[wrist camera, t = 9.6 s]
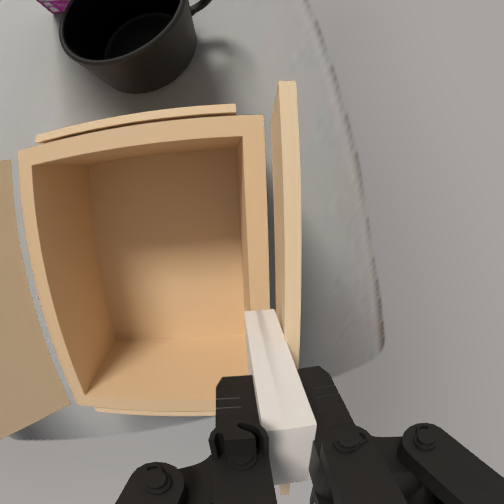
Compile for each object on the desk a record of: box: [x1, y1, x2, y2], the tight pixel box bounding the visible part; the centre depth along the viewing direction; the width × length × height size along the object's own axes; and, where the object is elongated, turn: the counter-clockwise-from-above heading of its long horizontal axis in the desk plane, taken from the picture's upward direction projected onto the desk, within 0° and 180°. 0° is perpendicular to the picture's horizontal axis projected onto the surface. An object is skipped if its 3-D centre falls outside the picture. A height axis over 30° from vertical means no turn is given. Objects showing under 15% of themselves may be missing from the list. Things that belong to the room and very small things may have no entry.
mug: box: [59, 0, 212, 94], centre depth 18 cm, size 9×12×9 cm
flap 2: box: [271, 81, 301, 495], centre depth 14 cm, size 8×19×1 cm
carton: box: [18, 104, 270, 416], centre depth 23 cm, size 16×22×10 cm
